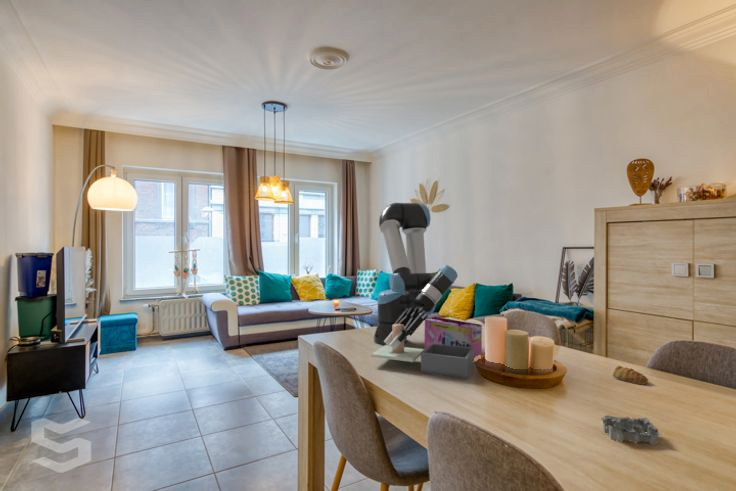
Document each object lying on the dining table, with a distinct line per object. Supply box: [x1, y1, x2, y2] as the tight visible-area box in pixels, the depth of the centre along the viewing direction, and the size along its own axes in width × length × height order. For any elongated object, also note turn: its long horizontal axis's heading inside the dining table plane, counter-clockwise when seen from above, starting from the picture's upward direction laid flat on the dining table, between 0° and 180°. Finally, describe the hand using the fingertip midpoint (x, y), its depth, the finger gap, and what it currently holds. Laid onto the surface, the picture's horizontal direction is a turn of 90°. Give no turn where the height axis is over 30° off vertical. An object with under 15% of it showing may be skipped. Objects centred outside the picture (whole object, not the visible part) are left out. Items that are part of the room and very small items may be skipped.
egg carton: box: [601, 414, 662, 445], centre depth 93 cm, size 11×8×4 cm
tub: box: [420, 343, 475, 380], centre depth 140 cm, size 14×16×7 cm
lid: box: [370, 324, 424, 363], centre depth 147 cm, size 14×16×11 cm
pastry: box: [612, 365, 649, 385], centre depth 129 cm, size 9×7×4 cm
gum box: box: [423, 316, 483, 358], centre depth 158 cm, size 24×8×14 cm, turn 44°
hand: (389, 345), depth 146 cm, fingers closed on lid, 4 cm apart
